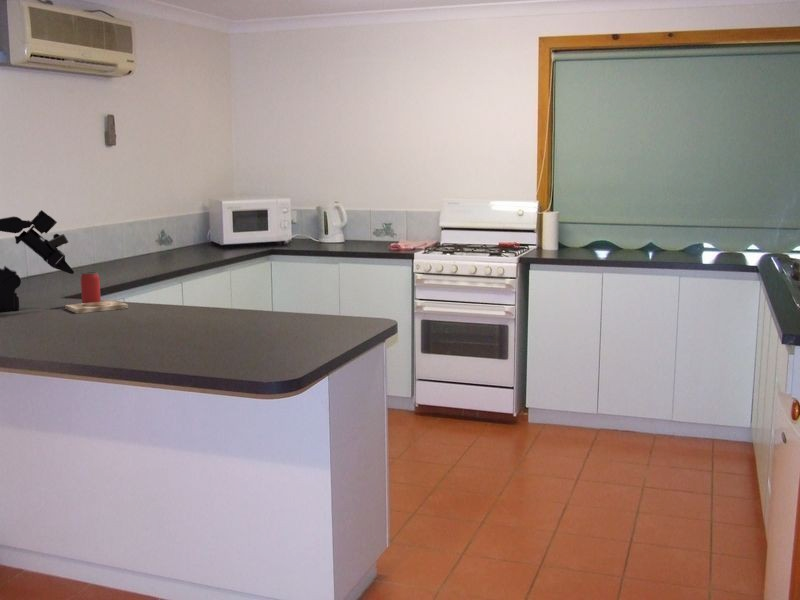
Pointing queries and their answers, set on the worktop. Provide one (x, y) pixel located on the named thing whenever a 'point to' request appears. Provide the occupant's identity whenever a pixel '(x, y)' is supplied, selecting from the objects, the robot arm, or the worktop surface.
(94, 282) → the beer can
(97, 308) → the ash board
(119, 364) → the worktop surface
